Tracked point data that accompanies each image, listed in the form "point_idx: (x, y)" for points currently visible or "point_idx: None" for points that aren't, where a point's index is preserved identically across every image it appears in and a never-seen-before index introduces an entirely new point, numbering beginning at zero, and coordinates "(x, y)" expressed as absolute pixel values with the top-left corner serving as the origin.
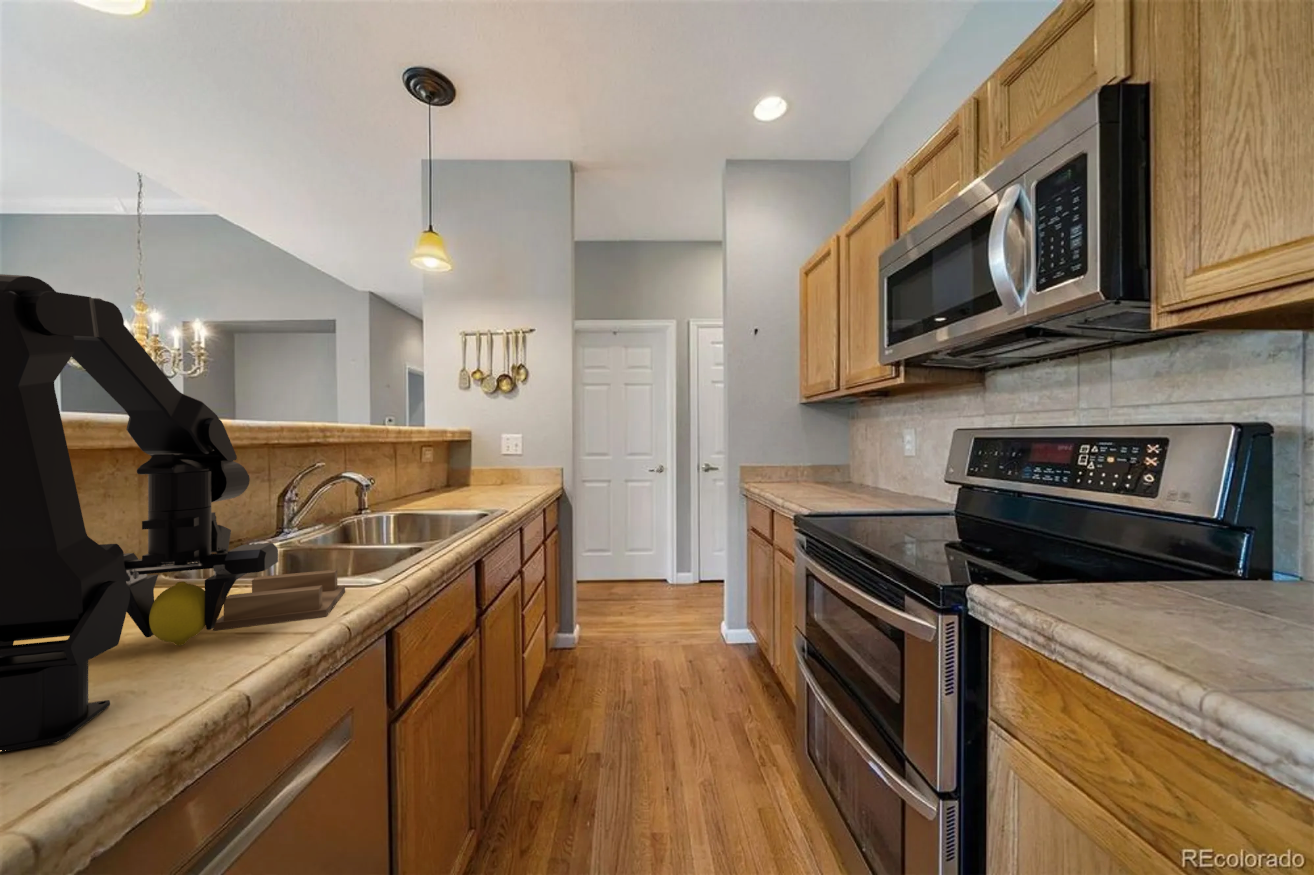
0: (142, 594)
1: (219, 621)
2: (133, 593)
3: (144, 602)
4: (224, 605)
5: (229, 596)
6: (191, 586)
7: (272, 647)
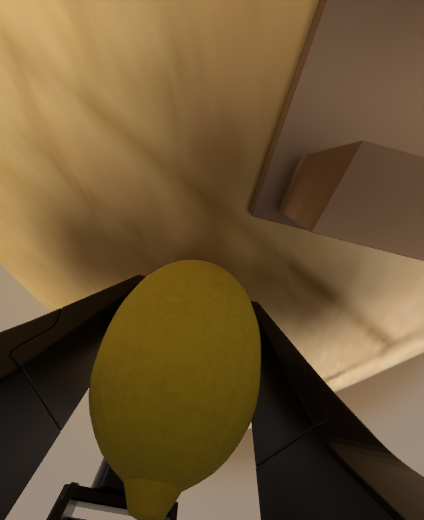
0: (31, 431)
1: (268, 209)
2: (23, 483)
3: (71, 385)
4: (300, 223)
5: (347, 189)
6: (205, 477)
7: (319, 361)
